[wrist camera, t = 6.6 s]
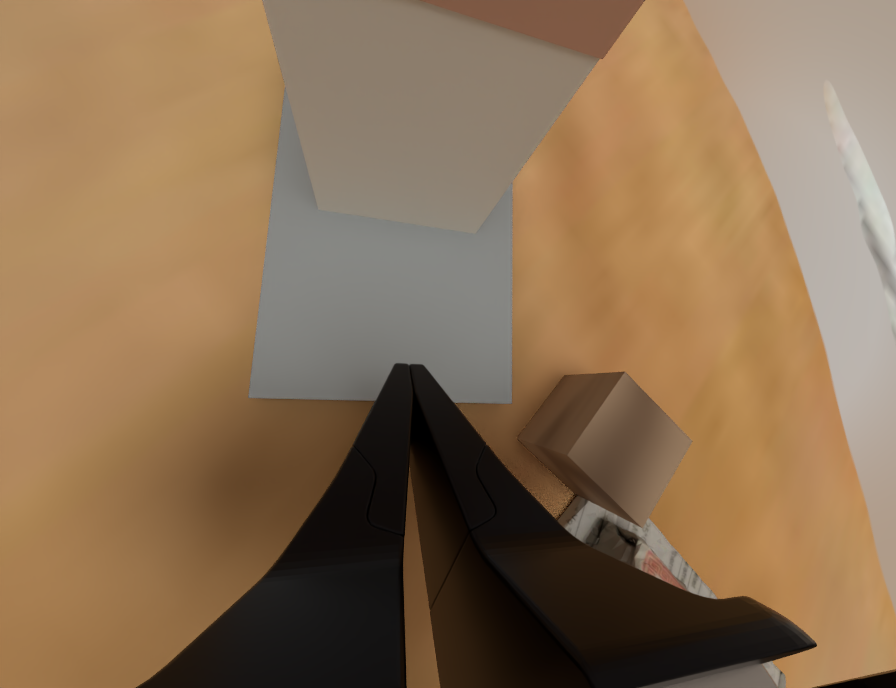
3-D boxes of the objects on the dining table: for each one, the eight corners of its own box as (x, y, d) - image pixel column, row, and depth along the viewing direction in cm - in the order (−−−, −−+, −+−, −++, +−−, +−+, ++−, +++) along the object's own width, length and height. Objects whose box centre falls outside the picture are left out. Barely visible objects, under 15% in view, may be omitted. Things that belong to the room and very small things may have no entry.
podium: (502, 402, 19) (520, 404, 17) (256, 397, 16) (239, 398, 14) (504, 102, 22) (519, 71, 20) (296, 47, 19) (288, 3, 16)
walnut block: (616, 428, 21) (692, 441, 16) (573, 493, 19) (642, 528, 15) (563, 375, 20) (625, 371, 15) (516, 437, 19) (566, 455, 14)
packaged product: (870, 735, 17) (788, 954, 14) (761, 659, 21) (684, 814, 19) (659, 487, 16) (526, 677, 13) (591, 464, 20) (484, 600, 18)
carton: (476, 234, 19) (768, -171, 5) (317, 210, 16) (99, -580, 3) (478, 125, 20) (726, -455, 6) (328, 89, 17) (204, -905, 4)
